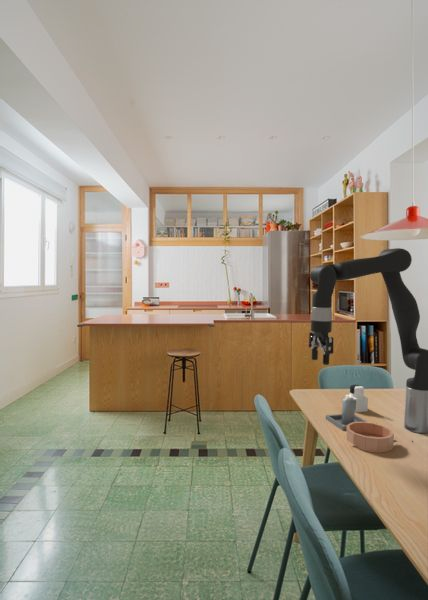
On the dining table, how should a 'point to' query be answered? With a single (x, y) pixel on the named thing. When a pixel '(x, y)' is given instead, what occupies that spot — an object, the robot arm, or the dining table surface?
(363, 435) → the bowl
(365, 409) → the medicine bottle
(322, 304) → the robot arm
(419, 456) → the dining table surface
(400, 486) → the dining table surface
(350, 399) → the pebble cup
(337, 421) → the parts tray
